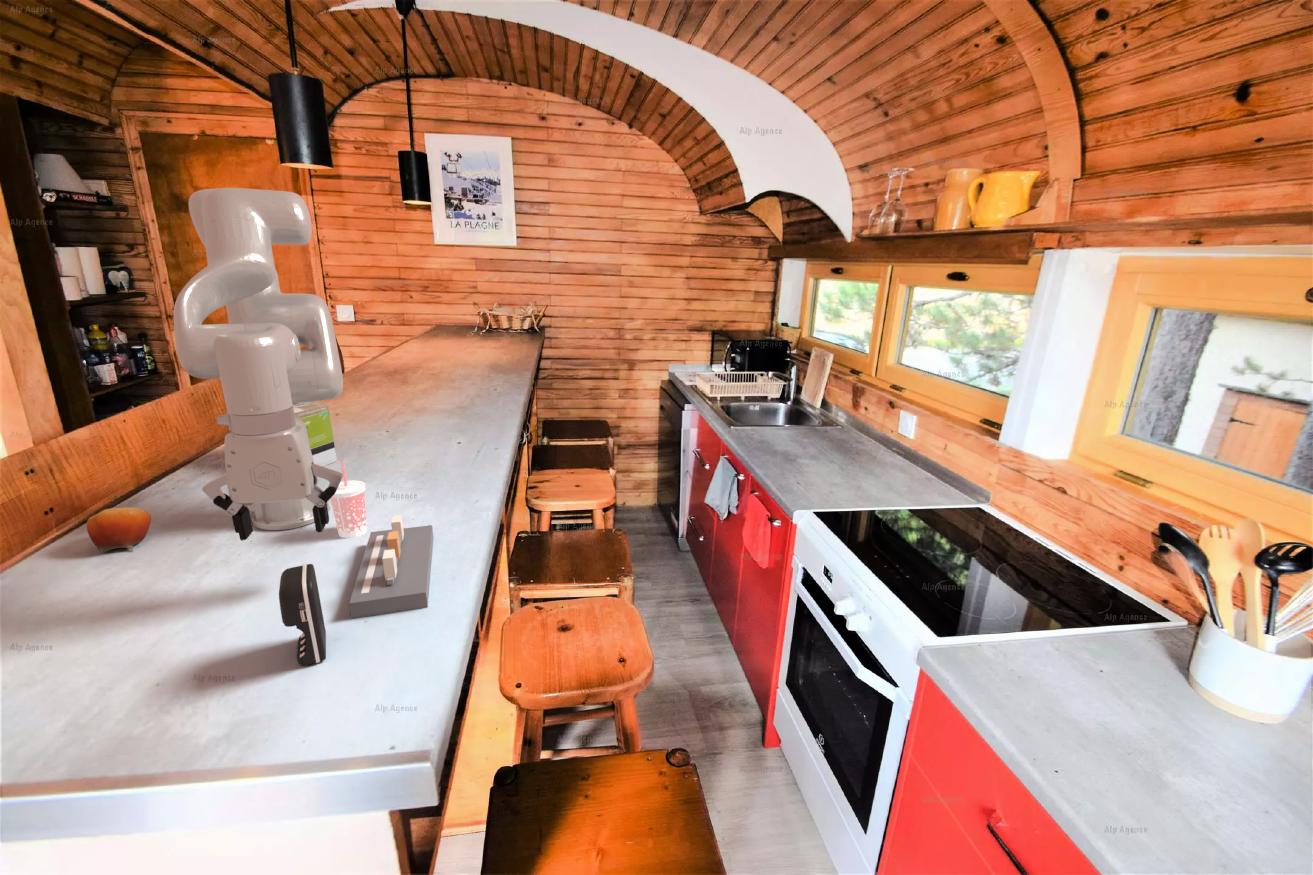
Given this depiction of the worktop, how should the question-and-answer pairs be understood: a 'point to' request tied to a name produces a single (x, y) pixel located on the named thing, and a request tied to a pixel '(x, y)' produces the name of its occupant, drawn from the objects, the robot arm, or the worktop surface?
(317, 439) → the tea box
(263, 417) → the robot arm
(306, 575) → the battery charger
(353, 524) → the beverage cup
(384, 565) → the switch paddles
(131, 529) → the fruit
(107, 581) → the worktop surface
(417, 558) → the switch panel
